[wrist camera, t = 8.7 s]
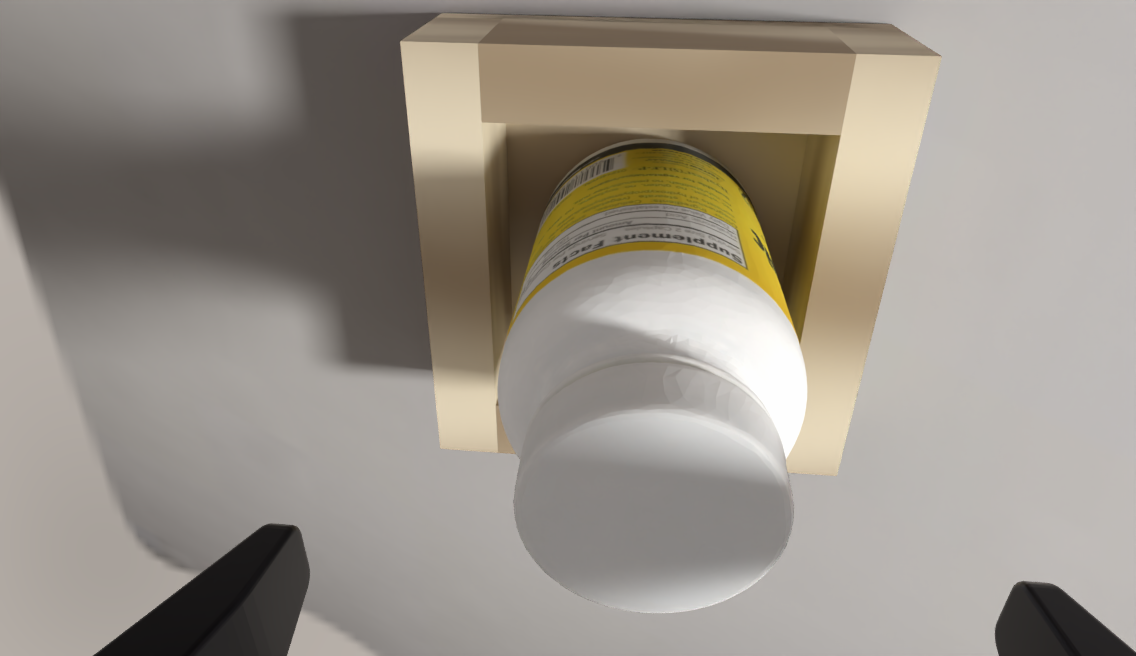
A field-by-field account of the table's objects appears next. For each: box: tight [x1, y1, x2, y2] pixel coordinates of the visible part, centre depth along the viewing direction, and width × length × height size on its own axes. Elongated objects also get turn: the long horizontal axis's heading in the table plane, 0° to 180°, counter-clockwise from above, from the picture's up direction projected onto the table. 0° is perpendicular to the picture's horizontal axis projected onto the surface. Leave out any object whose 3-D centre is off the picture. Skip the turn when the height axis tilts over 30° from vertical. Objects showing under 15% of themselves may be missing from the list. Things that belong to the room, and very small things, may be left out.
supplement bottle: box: [497, 139, 807, 613], centre depth 15 cm, size 5×5×10 cm
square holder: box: [400, 13, 942, 476], centre depth 18 cm, size 10×10×3 cm
